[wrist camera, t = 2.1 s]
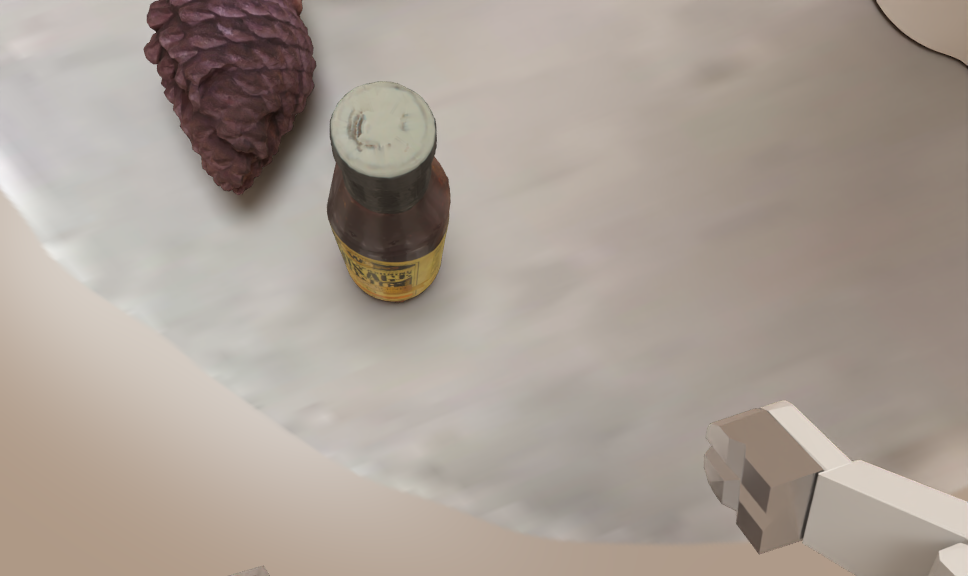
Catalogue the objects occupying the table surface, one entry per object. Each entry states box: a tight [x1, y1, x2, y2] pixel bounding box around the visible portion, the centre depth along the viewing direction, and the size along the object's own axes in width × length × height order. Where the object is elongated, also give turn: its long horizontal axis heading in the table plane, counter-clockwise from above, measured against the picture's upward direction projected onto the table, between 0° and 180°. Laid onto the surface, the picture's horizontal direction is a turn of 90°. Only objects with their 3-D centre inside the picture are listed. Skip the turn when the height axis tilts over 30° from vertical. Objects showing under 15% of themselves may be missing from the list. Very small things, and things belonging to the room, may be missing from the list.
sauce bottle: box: [327, 81, 450, 302], centre depth 33 cm, size 7×6×20 cm
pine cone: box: [144, 0, 316, 195], centre depth 39 cm, size 18×10×10 cm, turn 0°
